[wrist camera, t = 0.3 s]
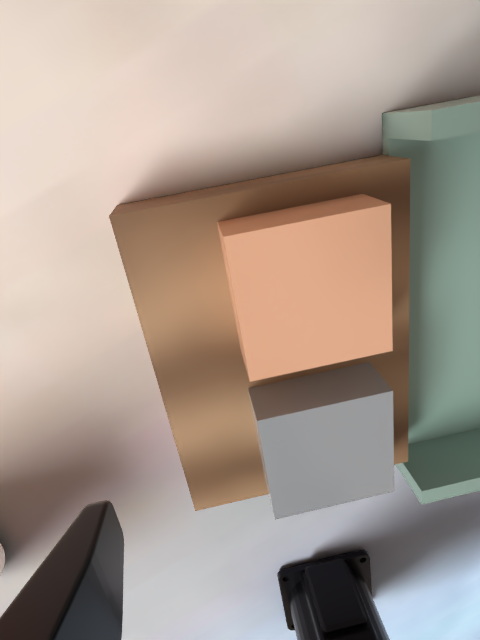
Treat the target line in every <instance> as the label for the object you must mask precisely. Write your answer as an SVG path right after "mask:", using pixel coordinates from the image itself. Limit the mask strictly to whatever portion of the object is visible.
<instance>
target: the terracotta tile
mask: <svg viewBox="0 0 480 640" xmlns="http://www.w3.org/2000/svg"><path fill="white" fill-rule="evenodd" d="M217 225H218V230H219V235H220V241H221V246H222V251H223V257H224V262H225V268H226V273H227V278H228V284H229V289H230V294H231V300H232V305H233V311H234V316H235V321H236V327H237V332H238V337H239V343H240V348H241V353H242V356H243V360H244V363H245V367H246V370H247V374H248V377H249V380H250V382H251V381H256V380H260V379H265V378H270V377H274V376H279V375H284V374H288V373H293V372H297V371H302V370H307V369H311V368H316V367H320V366H325V365H330V364H334V363H339V362H344V361H348V360H353V359H357V358H362V357H367V356H371V355H376V354H380V353H385V352H390V351H393V338H392V250H391V204H390V203H387V202H384V201H382V200H379V199H376V198H373V197H371V196H368V195H365V194H359V195H354V196H349V197H343V198H338V199H333V200H328V201H323V202H318V203H313V204H308V205H302V206H297V207H292V208H287V209H282V210H277V211H272V212H266V213H261V214H256V215H251V216H246V217H241V218H236V219H230V220H225V221H220V222H217Z"/></svg>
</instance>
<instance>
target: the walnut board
mask: <svg viewBox="0 0 480 640" xmlns="http://www.w3.org/2000/svg"><path fill="white" fill-rule="evenodd" d="M359 194H365V195H368V196H371V197H373V198H376V199H379V200H382V201H384V202H387V203H390V204H391V250H392V338H393V351H390V352H385V353H380V354H376V355H371V356H367V357H362V358H357V359H353V360H348V361H344V362H339V363H334V364H330V365H325V366H320V367H316V368H311V369H307V370H302V371H297V372H293V373H288V374H284V375H279V376H274V377H270V378H265V379H260V380H256V381H251V382H250V380H249V377H248V374H247V370H246V367H245V363H244V360H243V356H242V353H241V348H240V343H239V337H238V332H237V327H236V321H235V316H234V311H233V305H232V300H231V294H230V289H229V284H228V278H227V273H226V268H225V262H224V257H223V251H222V246H221V241H220V235H219V230H218V225H217V222H220V221H225V220H230V219H236V218H241V217H246V216H251V215H256V214H261V213H266V212H272V211H277V210H282V209H287V208H292V207H297V206H302V205H308V204H313V203H318V202H323V201H328V200H333V199H338V198H343V197H349V196H354V195H359ZM109 218H110V221H111V224H112V228H113V231H114V235H115V238H116V241H117V245H118V248H119V252H120V255H121V258H122V262H123V265H124V269H125V272H126V276H127V279H128V282H129V286H130V289H131V293H132V296H133V299H134V303H135V306H136V310H137V313H138V316H139V320H140V323H141V327H142V330H143V334H144V337H145V340H146V344H147V347H148V351H149V354H150V357H151V361H152V364H153V368H154V371H155V375H156V378H157V381H158V385H159V388H160V392H161V395H162V398H163V402H164V405H165V409H166V412H167V415H168V419H169V422H170V426H171V429H172V433H173V436H174V439H175V443H176V446H177V450H178V453H179V456H180V460H181V463H182V467H183V470H184V473H185V477H186V480H187V484H188V487H189V491H190V494H191V497H192V501H193V504H194V508H195V511H197V510H202V509H206V508H210V507H214V506H219V505H223V504H227V503H232V502H236V501H240V500H245V499H249V498H253V497H258V496H262V495H266V494H268V490H267V486H266V482H265V477H264V472H263V466H262V461H261V455H260V450H259V445H258V439H257V434H256V429H255V423H254V418H253V412H252V407H251V402H250V396H249V391H248V388H252V387H257V386H261V385H266V384H271V383H275V382H280V381H284V380H289V379H294V378H298V377H303V376H307V375H312V374H316V373H321V372H326V371H330V370H335V369H339V368H344V367H349V366H353V365H358V364H362V363H367V362H370V363H371V365H372V366H373V367H374V368H375V369H376V371H377V372H378V373H379V374H380V376H381V377H382V378H383V379H384V380H385V382H386V383H387V384H388V385H389V386H390V388H391V389H392V390H393V427H394V465H395V464H400V463H404V462H408V415H409V281H410V158H402V157H395V156H388V155H379V156H374V157H369V158H363V159H358V160H353V161H348V162H342V163H337V164H332V165H327V166H321V167H316V168H311V169H306V170H300V171H295V172H290V173H284V174H279V175H274V176H269V177H263V178H258V179H253V180H248V181H242V182H237V183H232V184H227V185H221V186H216V187H211V188H206V189H200V190H195V191H190V192H184V193H179V194H174V195H169V196H163V197H158V198H153V199H148V200H142V201H137V202H132V203H127V204H121V205H117V206H116V208H115V209H114V210H113V212H112V213H111V214H110V216H109Z"/></svg>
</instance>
